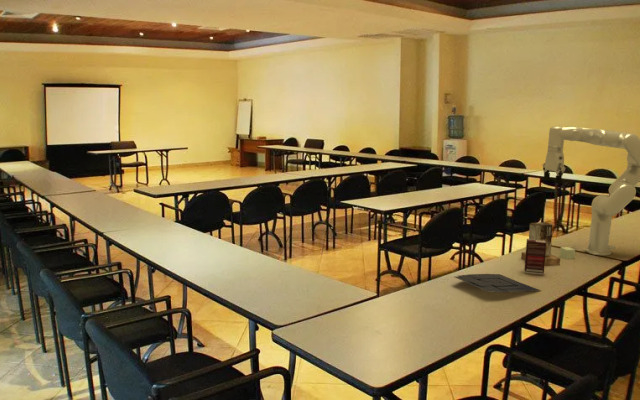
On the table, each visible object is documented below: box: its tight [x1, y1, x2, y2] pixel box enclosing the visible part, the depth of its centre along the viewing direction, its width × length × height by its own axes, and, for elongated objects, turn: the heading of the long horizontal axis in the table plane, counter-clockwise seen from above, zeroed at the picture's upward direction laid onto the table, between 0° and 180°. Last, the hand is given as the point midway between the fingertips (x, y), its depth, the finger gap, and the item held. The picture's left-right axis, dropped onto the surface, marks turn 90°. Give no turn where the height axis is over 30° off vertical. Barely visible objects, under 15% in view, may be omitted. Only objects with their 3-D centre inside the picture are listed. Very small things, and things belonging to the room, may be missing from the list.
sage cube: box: [559, 246, 576, 260], centre depth 268 cm, size 5×5×5 cm
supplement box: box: [523, 238, 546, 276], centre depth 242 cm, size 9×5×16 cm, turn 71°
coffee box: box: [528, 222, 553, 256], centre depth 260 cm, size 9×6×16 cm
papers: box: [454, 273, 542, 293], centre depth 223 cm, size 24×30×4 cm
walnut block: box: [520, 251, 561, 267], centre depth 261 cm, size 13×13×4 cm
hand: (552, 181), depth 276 cm, fingers open, 9 cm apart
